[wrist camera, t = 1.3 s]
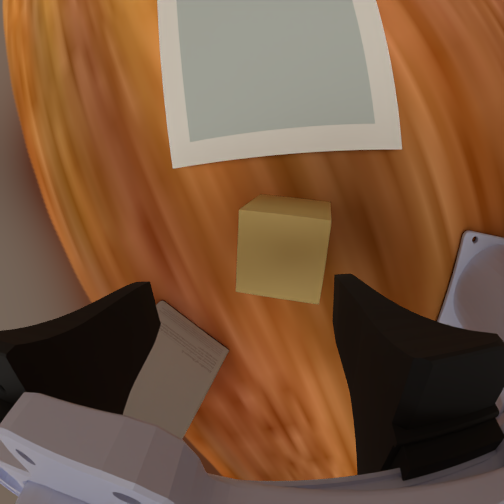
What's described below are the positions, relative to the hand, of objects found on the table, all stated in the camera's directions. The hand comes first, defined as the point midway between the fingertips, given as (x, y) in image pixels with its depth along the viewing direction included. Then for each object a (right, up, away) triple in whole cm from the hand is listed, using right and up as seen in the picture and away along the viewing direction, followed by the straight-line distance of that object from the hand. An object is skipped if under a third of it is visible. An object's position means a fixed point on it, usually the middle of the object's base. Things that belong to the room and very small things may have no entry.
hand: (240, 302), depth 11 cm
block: (+3, +3, +9) cm, 10 cm away
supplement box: (-6, -7, +15) cm, 18 cm away
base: (+2, +15, +5) cm, 16 cm away
